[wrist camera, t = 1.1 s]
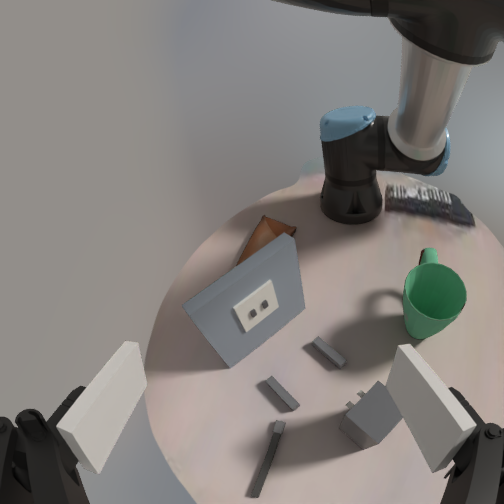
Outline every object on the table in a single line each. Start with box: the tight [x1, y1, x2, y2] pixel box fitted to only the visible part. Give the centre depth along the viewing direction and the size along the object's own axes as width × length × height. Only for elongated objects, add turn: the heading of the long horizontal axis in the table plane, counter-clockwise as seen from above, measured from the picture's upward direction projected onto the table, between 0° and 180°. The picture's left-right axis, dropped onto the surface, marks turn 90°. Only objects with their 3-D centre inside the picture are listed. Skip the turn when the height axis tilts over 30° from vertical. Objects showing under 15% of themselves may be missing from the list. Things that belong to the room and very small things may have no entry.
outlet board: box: [182, 233, 346, 411], centre depth 34 cm, size 16×14×16 cm
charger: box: [339, 381, 403, 450], centre depth 26 cm, size 5×6×11 cm
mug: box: [403, 248, 467, 339], centre depth 35 cm, size 15×10×10 cm
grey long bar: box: [251, 420, 285, 498], centre depth 28 cm, size 12×1×1 cm, turn 162°
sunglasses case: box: [236, 215, 296, 266], centre depth 57 cm, size 18×7×7 cm
